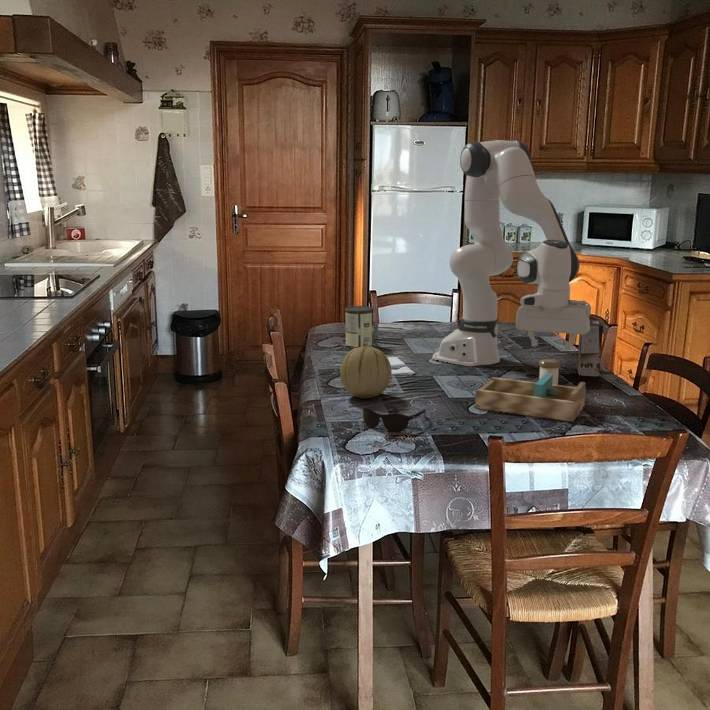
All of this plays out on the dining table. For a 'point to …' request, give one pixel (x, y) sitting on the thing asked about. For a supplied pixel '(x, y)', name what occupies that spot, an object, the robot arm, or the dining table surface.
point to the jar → (549, 369)
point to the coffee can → (359, 326)
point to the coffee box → (590, 350)
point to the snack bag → (396, 362)
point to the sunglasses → (388, 418)
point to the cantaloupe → (365, 372)
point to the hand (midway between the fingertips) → (551, 347)
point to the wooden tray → (530, 399)
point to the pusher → (545, 387)
